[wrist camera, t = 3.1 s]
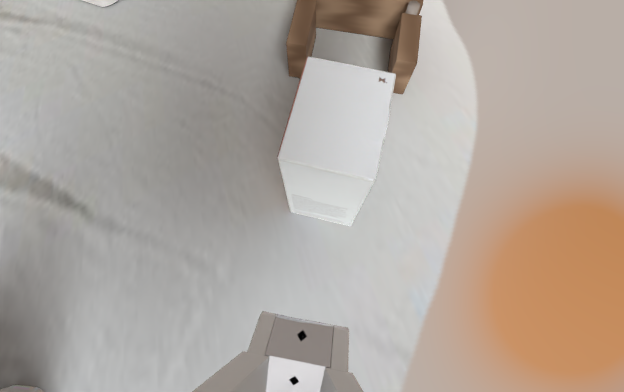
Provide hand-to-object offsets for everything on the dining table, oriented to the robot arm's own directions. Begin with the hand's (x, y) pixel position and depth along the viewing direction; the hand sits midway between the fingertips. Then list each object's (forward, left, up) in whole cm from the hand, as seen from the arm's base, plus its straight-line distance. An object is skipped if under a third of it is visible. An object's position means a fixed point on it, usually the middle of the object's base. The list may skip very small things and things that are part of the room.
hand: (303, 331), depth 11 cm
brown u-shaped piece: (0, +29, -19) cm, 35 cm away
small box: (0, +13, -19) cm, 23 cm away
